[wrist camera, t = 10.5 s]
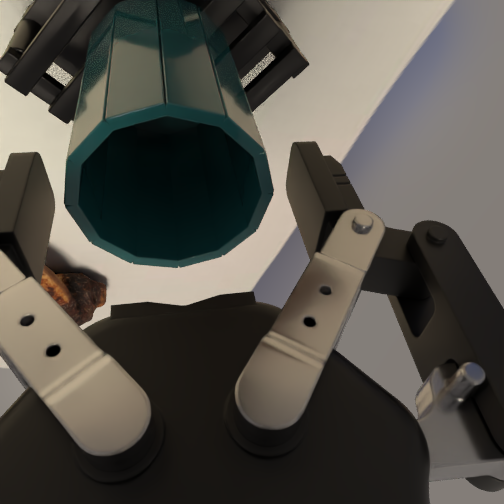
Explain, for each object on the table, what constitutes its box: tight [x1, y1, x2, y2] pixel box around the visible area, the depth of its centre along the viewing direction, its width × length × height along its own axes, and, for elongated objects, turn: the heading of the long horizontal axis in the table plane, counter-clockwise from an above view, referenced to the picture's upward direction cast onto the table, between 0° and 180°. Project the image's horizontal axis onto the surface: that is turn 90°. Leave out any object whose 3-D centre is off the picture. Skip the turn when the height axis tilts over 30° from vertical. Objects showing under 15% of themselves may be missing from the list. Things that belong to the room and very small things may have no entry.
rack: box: [0, 0, 309, 124], centre depth 22 cm, size 10×10×7 cm
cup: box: [64, 0, 274, 268], centre depth 16 cm, size 6×6×9 cm
